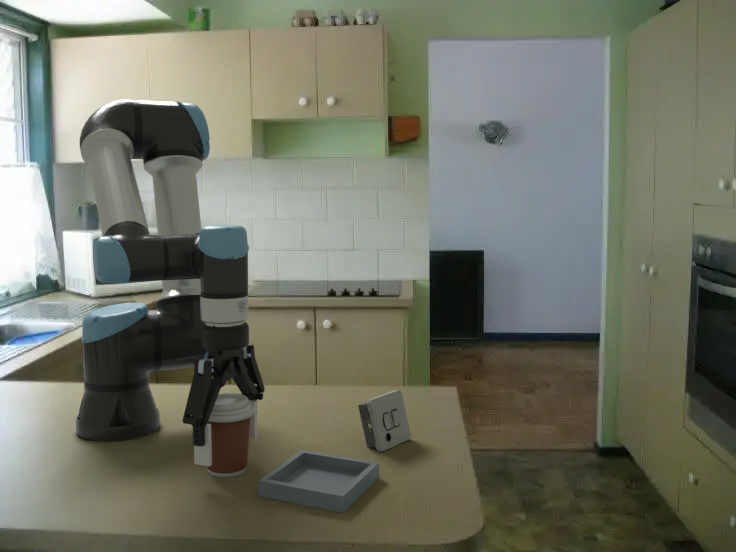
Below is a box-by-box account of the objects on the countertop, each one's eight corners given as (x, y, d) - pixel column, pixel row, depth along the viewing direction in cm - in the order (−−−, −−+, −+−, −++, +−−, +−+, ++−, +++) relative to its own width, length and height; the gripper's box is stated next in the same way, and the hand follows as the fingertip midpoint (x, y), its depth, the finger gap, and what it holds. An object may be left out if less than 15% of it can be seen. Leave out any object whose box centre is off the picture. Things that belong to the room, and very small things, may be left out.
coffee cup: (227, 455, 131) (226, 387, 130) (266, 467, 126) (266, 397, 124) (187, 471, 124) (185, 400, 122) (226, 485, 119) (225, 411, 117)
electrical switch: (380, 454, 133) (377, 401, 132) (358, 449, 136) (354, 398, 135) (412, 439, 140) (409, 390, 139) (389, 436, 143) (386, 387, 143)
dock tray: (258, 496, 115) (258, 480, 114) (301, 464, 127) (301, 449, 127) (342, 512, 109) (343, 496, 109) (379, 477, 122) (379, 462, 122)
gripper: (198, 338, 109) (202, 481, 111) (283, 311, 132) (284, 430, 134) (155, 334, 112) (160, 473, 114) (246, 308, 134) (247, 424, 137)
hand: (227, 450), depth 124 cm, fingers open, 13 cm apart
